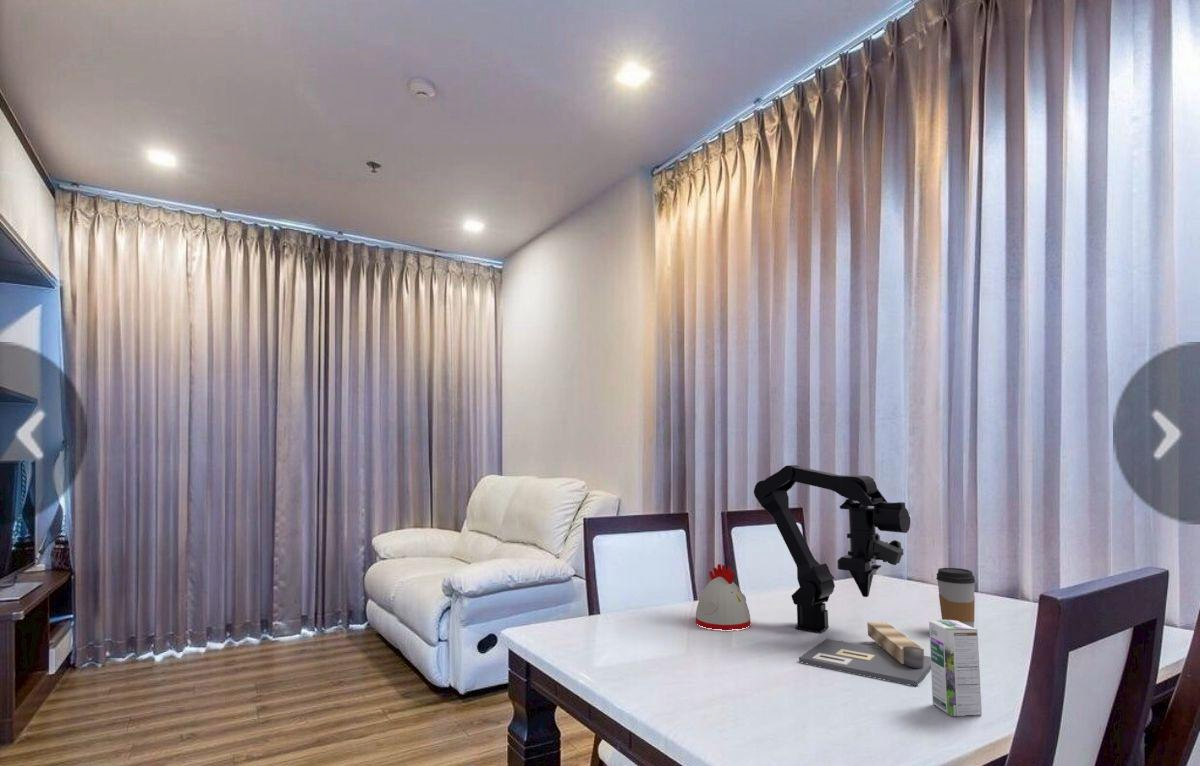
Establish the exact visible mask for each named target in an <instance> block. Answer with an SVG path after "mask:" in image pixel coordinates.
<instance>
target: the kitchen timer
mask: <svg viewBox="0 0 1200 766" xmlns="http://www.w3.org/2000/svg"><path fill="white" fill-rule="evenodd" d="M708 574H709V578H710V581H709V582H708V583H707V584H706V586H705V587H704V589H703V590H702V592H701V594H700V597H699V598H698V603H697V606H696V610H695V624H696V623H697V624H698V625H700V626H703V627H706V628H712V629H722V630H732V629H742V628H746V627H748V626H750V627H751V625H750V624H751V623H752V622H751V614H750V609H749V607H748V604H747V598H746V597H747V596H746V595H745V594H744V593H742V591H741V589H740V588H739V586H738V585H737V584H736V583H735V582H734V579H735V575H736V572H732V567H731V566H727V568H726V565H725V564H722V565H721V564H720V563H719V564H717V566H716V567H713V568H712V571H708ZM697 624H696V625H697ZM698 625H697V626H698Z"/></svg>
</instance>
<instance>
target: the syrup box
mask: <svg viewBox="0 0 1200 766" xmlns="http://www.w3.org/2000/svg"><path fill="white" fill-rule="evenodd" d="M928 625H929V645H930V646H929V649H930V651H929V652H930V657H931V670H930V672H931V673H930V674H931V677H930V678H931V692H932V693H931V696H932V700H931V701H932V705H933V706H935V705H936V707H937V708H938V709H940V710H941V711H943V712H945V714H947V715H948V716H949V717H951V716H958V717H964V716H963V715H974V716H982V715H983V712H982V709H983V708H982V707H983V706H982V694H981V688H982V687H981V674H980V673H981V672H980V671H981V670H980V654H979V653H980V652H979V651H980V650H979V633H978V628H976V627H974V628H972V627H970V626H968V625H965V624H963V623H961V622H959V621H955V620H942V619H934V620H929V624H928Z"/></svg>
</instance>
